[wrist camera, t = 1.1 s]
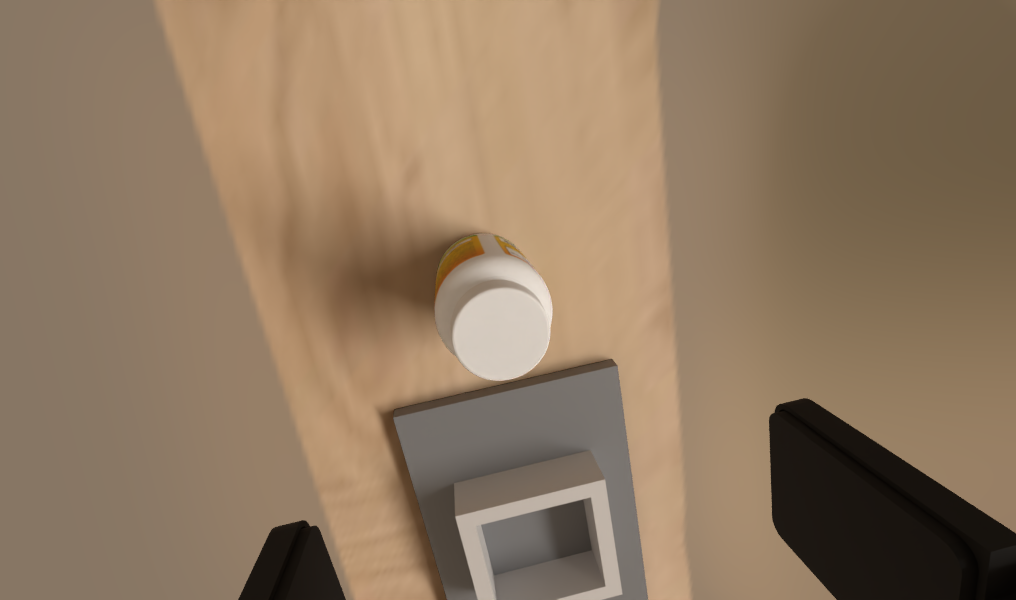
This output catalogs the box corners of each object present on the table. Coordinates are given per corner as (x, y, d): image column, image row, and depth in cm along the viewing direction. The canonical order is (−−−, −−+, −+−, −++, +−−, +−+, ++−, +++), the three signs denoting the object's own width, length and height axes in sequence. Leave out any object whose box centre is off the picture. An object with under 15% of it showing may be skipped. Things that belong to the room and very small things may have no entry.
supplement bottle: (435, 321, 29) (431, 399, 19) (436, 230, 27) (433, 267, 18) (524, 322, 29) (562, 397, 20) (531, 233, 28) (574, 271, 19)
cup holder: (394, 409, 30) (387, 446, 26) (612, 359, 31) (635, 387, 27) (463, 643, 36) (465, 700, 32) (643, 595, 37) (666, 645, 33)
